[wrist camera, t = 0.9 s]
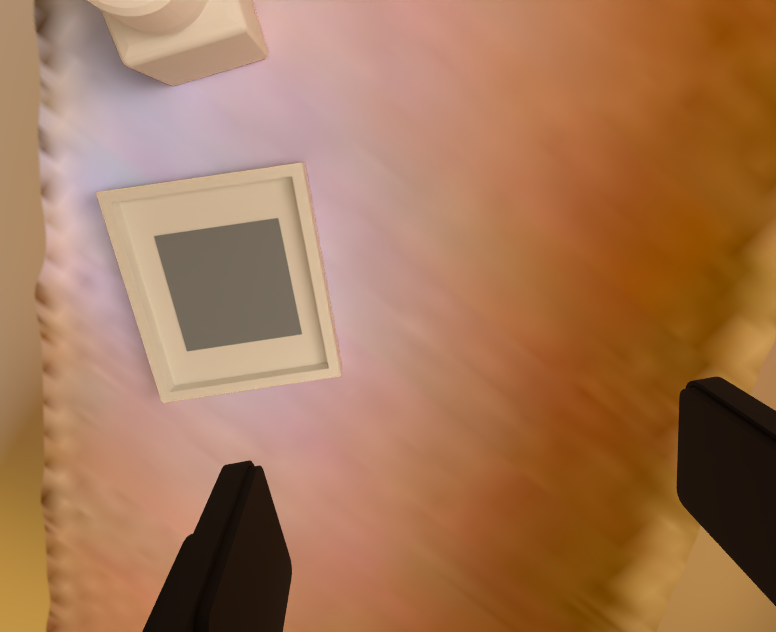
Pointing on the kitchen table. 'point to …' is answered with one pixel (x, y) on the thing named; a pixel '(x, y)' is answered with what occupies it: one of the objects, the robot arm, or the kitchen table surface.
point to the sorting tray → (225, 280)
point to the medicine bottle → (184, 36)
